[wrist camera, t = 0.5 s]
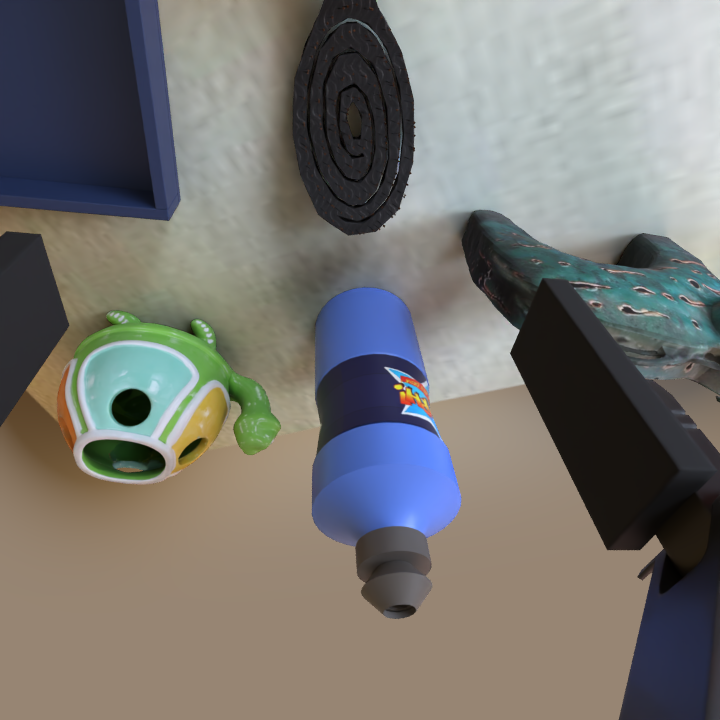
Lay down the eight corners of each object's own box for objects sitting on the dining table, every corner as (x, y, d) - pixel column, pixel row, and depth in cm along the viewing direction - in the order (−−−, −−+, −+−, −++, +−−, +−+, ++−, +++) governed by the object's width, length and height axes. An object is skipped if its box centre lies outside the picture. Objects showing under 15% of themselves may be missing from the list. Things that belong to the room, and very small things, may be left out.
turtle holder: (274, 418, 51) (265, 518, 42) (91, 395, 47) (37, 500, 38) (294, 327, 43) (288, 425, 34) (77, 291, 39) (6, 390, 30)
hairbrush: (441, -366, 19) (418, 236, 34) (425, -317, 22) (410, 218, 37) (230, -360, 19) (302, 244, 34) (243, -311, 21) (303, 224, 37)
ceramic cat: (693, 228, 40) (929, 396, 24) (648, 293, 44) (827, 473, 28) (470, 187, 36) (582, 353, 21) (444, 262, 40) (522, 448, 25)
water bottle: (379, 266, 40) (435, 547, 21) (431, 337, 45) (515, 612, 26) (292, 321, 43) (273, 610, 24) (351, 381, 48) (373, 657, 29)
